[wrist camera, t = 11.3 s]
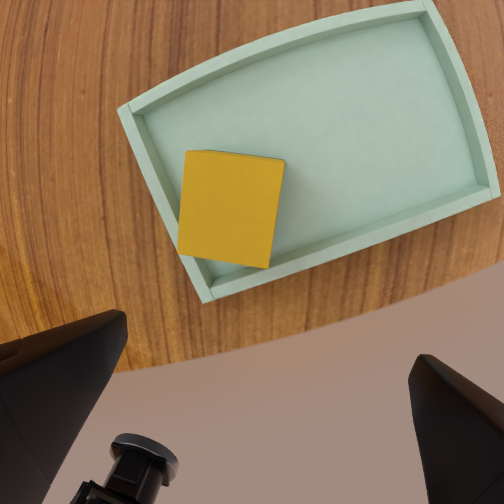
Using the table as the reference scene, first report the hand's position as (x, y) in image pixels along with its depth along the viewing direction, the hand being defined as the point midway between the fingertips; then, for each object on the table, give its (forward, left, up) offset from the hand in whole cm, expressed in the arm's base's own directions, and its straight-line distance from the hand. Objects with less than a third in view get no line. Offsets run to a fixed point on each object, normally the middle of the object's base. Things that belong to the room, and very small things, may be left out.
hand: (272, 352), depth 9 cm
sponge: (+2, +3, -11) cm, 11 cm away
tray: (+6, -1, -11) cm, 13 cm away
